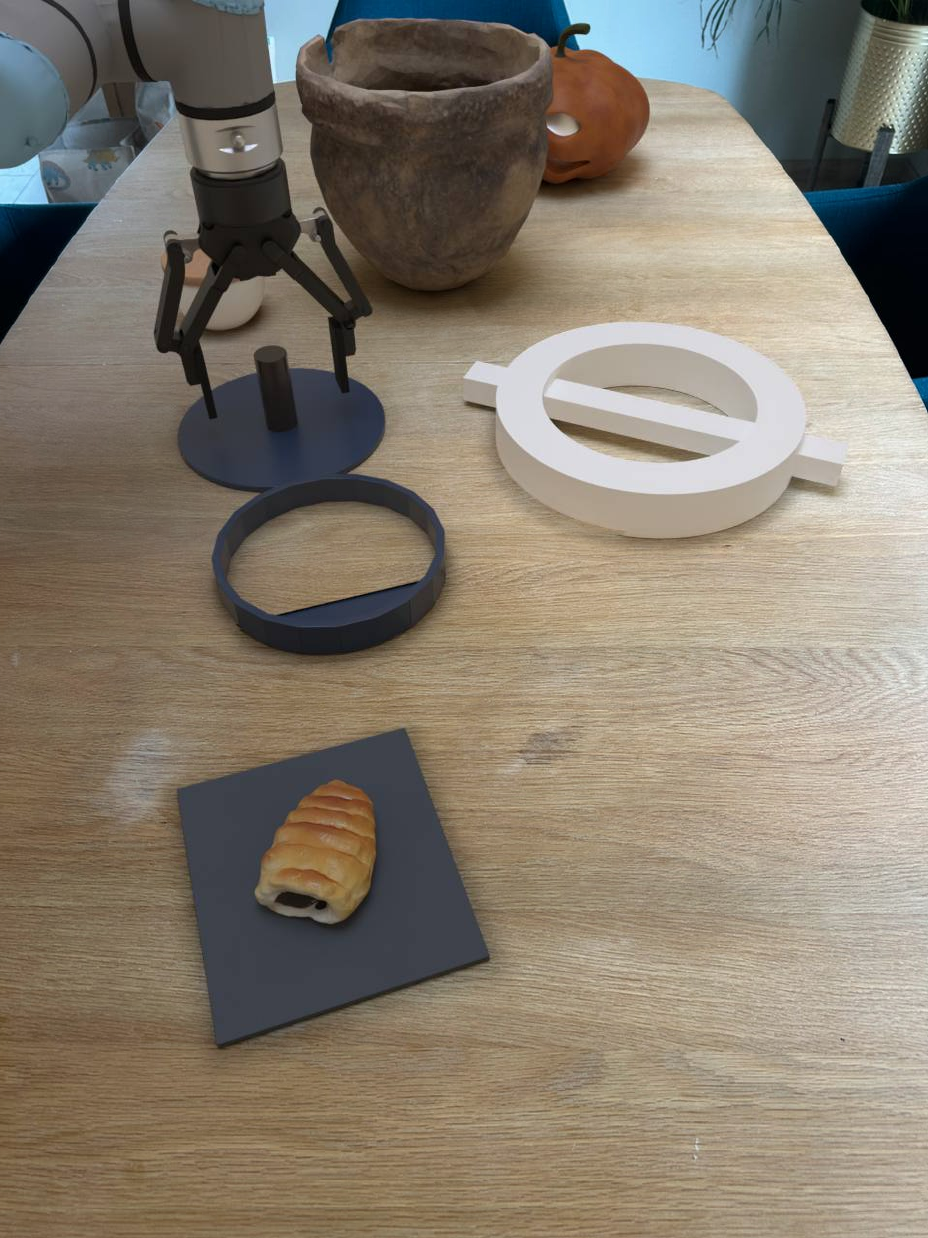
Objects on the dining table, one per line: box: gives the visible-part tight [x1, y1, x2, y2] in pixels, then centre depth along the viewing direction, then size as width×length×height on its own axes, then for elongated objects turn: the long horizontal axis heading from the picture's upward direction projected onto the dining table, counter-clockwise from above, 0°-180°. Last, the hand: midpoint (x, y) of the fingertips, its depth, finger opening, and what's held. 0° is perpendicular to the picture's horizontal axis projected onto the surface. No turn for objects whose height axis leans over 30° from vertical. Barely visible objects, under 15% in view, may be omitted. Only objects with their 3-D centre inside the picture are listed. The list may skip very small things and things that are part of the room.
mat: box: [176, 727, 491, 1049], centre depth 63 cm, size 18×16×1 cm
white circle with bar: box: [462, 321, 850, 539], centre depth 93 cm, size 28×28×5 cm
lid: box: [177, 344, 386, 493], centre depth 94 cm, size 20×20×9 cm
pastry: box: [255, 780, 376, 924], centre depth 62 cm, size 9×7×4 cm
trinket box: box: [160, 249, 266, 331], centre depth 109 cm, size 11×11×9 cm
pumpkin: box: [542, 22, 651, 185], centre depth 135 cm, size 25×25×19 cm
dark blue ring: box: [211, 473, 447, 656], centre depth 82 cm, size 19×19×3 cm
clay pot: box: [295, 17, 554, 292], centre depth 109 cm, size 26×26×25 cm
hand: (278, 398), depth 94 cm, fingers open, 12 cm apart
